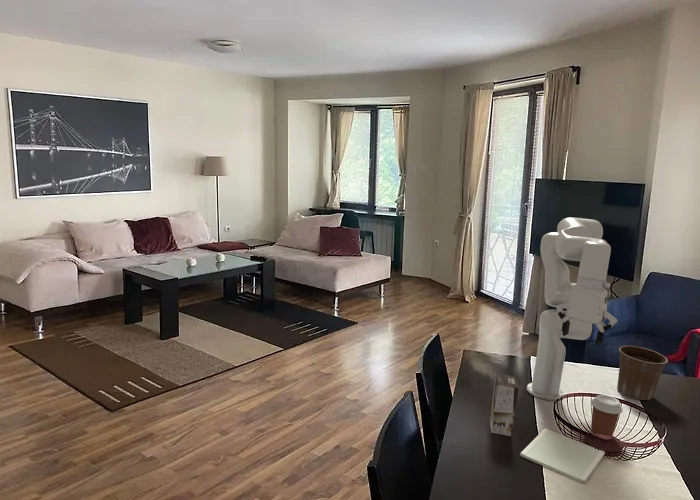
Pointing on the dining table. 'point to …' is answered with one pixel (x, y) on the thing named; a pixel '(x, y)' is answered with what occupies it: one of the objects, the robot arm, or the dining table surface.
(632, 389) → the plant pot
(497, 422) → the coffee box
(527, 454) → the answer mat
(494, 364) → the dining table surface
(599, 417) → the coffee cup
